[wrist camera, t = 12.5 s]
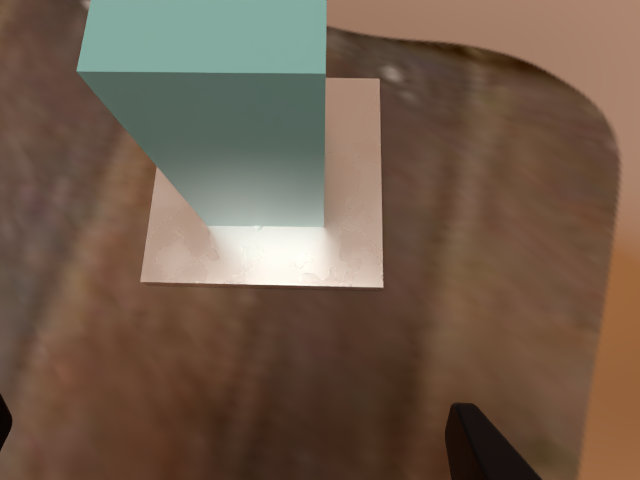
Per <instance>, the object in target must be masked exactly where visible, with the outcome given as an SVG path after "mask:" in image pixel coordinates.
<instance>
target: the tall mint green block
mask: <svg viewBox="0 0 640 480" xmlns="http://www.w3.org/2000/svg"><path fill="white" fill-rule="evenodd" d="M326 1H327V0H91V3H90V8H89V13H88V18H87V23H86V27H85V32H84V37H83V42H82V47H81V52H80V57H79V62H78V67H77V73H78V74H79V75H80V76H81V77H82V79H83V80H84V81H85V82H86V83H87V84H88V86H89V87H90V88H91V89H92V90H93V92H94V93H95V94H96V95H97V96H98V97H99V99H100V100H101V101H102V102H103V103H104V105H105V106H106V107H107V108H108V109H109V110H110V112H111V113H112V114H113V115H114V116H115V118H116V119H117V120H118V121H119V122H120V123H121V125H122V126H123V127H124V128H125V129H126V131H127V132H128V133H129V134H130V135H131V136H132V138H133V139H134V140H135V141H136V142H137V144H138V145H139V146H140V147H141V148H142V149H143V151H144V152H145V153H146V154H147V155H148V156H149V158H150V159H151V160H152V161H153V162H154V164H155V165H156V166H157V167H158V168H159V169H160V171H161V172H162V173H163V174H164V175H165V177H166V178H167V179H168V180H169V181H170V182H171V184H172V185H173V186H174V187H175V188H176V190H177V191H178V192H179V193H180V194H181V195H182V197H183V198H184V199H185V200H186V201H187V203H188V204H189V205H190V206H191V207H192V208H193V210H194V211H195V212H196V213H197V214H198V216H199V217H200V218H201V219H202V220H203V221H204V223H205V224H206V225H207V226H275V227H324V176H325V94H326V7H327V2H326Z"/></svg>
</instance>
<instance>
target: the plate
mask: <svg viewBox="0 0 640 480" xmlns="http://www.w3.org/2000/svg"><path fill="white" fill-rule="evenodd" d="M140 282H142V283H144V284H146V285H151V286H195V287H238V288H281V289H324V290H367V291H381V290H382V288H383V247H382V189H381V132H380V79H362V78H326V94H325V176H324V227H275V226H207V225H206V224H205V223H204V221H203V220H202V219H201V218H200V217H199V216H198V214H197V213H196V212H195V211H194V210H193V208H192V207H191V206H190V205H189V204H188V203H187V201H186V200H185V199H184V198H183V197H182V195H181V194H180V193H179V192H178V191H177V190H176V188H175V187H174V186H173V185H172V184H171V182H170V181H169V180H168V179H167V178H166V177H165V175H164V174H163V173H162V172H161V171H160V169H159V168H158V167H157V170H156V177H155V184H154V191H153V198H152V205H151V212H150V219H149V226H148V232H147V239H146V246H145V253H144V260H143V267H142V274H141V281H140Z"/></svg>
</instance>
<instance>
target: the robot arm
mask: <svg viewBox="0 0 640 480" xmlns="http://www.w3.org/2000/svg"><path fill="white" fill-rule="evenodd" d="M11 426H12V415H11V413H10V411H9V409H8V407H7V405H6V403H5V401H4V399H3V397H2V395H1V394H0V451H1V448H2V446H3V444H4V442H5V440H6V438H7V436H8V434H9V432H10V430H11ZM445 442H446V448H447V454H448V461H449V467H450V473H451V479H452V480H542V479H541V477H540V476H539V475H538V474H537V473H536V472H535V471H534V470H533V468H532V467H531V466H530V465H529V464H528V463H527V462H526V461H525V460H524V458H523V457H522V456H521V455H520V454H519V453H518V452H517V451H516V450H515V448H514V447H513V446H512V445H511V444H510V443H509V442H508V441H507V439H506V438H505V437H504V436H503V435H502V434H501V433H500V432H499V431H498V429H497V428H496V427H495V426H494V425H493V424H492V423H491V422H490V421H489V419H488V418H487V417H486V416H485V415H484V414H483V413H482V412H481V410H480V409H479V408H478V407H477V406H476V405H474V404H472V403H453V404H452V406H451V408H450V412H449V416H448V421H447V425H446V429H445Z"/></svg>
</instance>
